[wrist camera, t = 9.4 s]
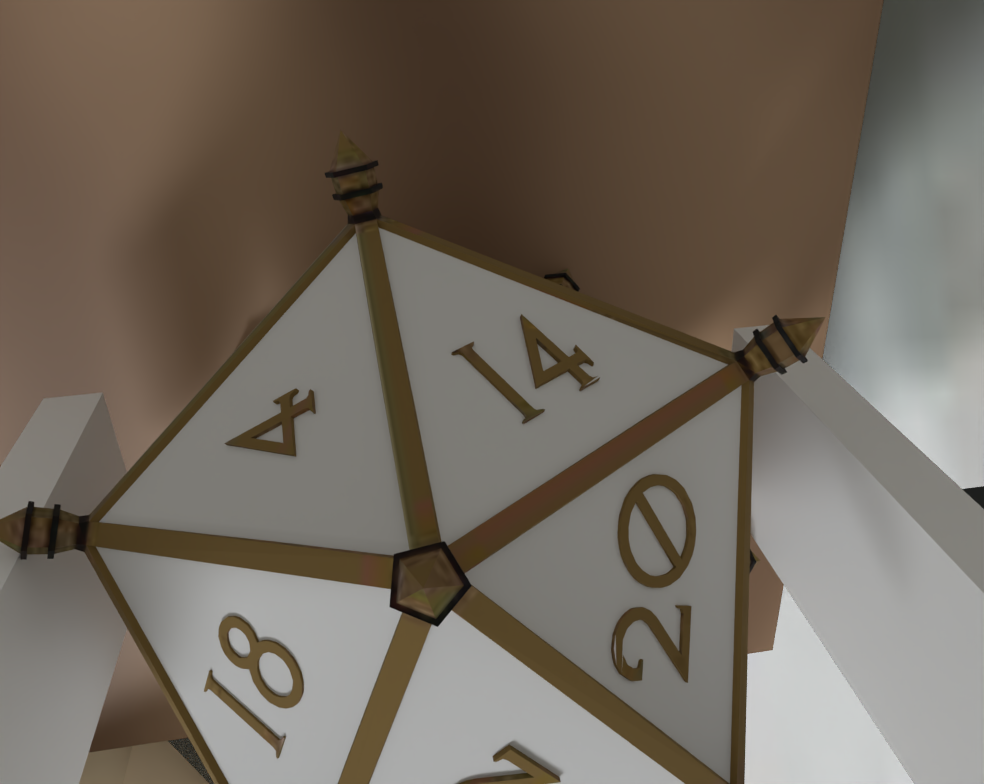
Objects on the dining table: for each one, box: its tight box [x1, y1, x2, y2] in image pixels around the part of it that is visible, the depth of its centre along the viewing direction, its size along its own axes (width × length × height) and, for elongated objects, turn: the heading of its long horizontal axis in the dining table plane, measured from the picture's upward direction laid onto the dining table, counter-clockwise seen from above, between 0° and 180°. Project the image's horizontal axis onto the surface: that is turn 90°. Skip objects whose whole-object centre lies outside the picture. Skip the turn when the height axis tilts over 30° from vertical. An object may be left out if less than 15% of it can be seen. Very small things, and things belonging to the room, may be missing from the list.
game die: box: [0, 130, 826, 784], centre depth 10 cm, size 9×8×10 cm
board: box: [0, 0, 884, 753], centre depth 14 cm, size 14×14×2 cm
